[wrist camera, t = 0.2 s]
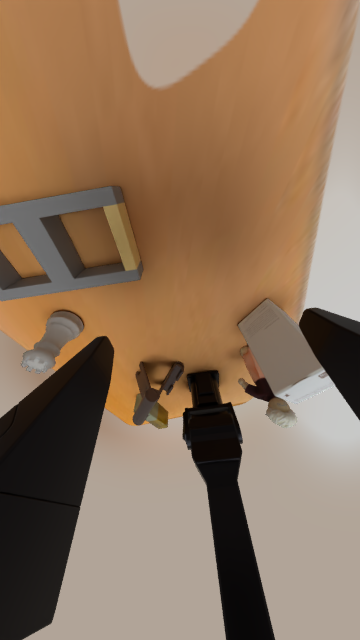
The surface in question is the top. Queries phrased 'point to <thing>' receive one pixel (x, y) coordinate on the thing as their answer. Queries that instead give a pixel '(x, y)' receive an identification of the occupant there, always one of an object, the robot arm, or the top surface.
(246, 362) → the grandmother figurine
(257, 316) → the skincare box
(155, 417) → the medication box
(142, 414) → the portable electronic device stand
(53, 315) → the rook chess piece
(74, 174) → the top surface
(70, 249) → the rail
